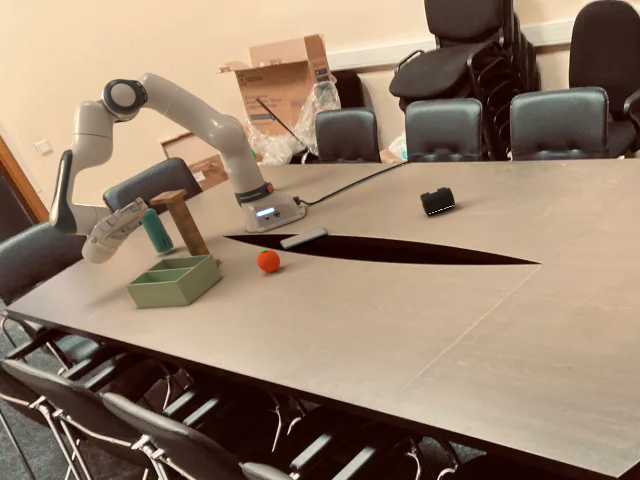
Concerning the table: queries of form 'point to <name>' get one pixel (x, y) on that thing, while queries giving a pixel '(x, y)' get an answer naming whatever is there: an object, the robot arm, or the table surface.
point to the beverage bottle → (156, 231)
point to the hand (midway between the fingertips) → (129, 206)
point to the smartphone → (303, 237)
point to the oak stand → (183, 221)
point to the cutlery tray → (174, 281)
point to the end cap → (437, 200)
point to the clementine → (268, 260)
